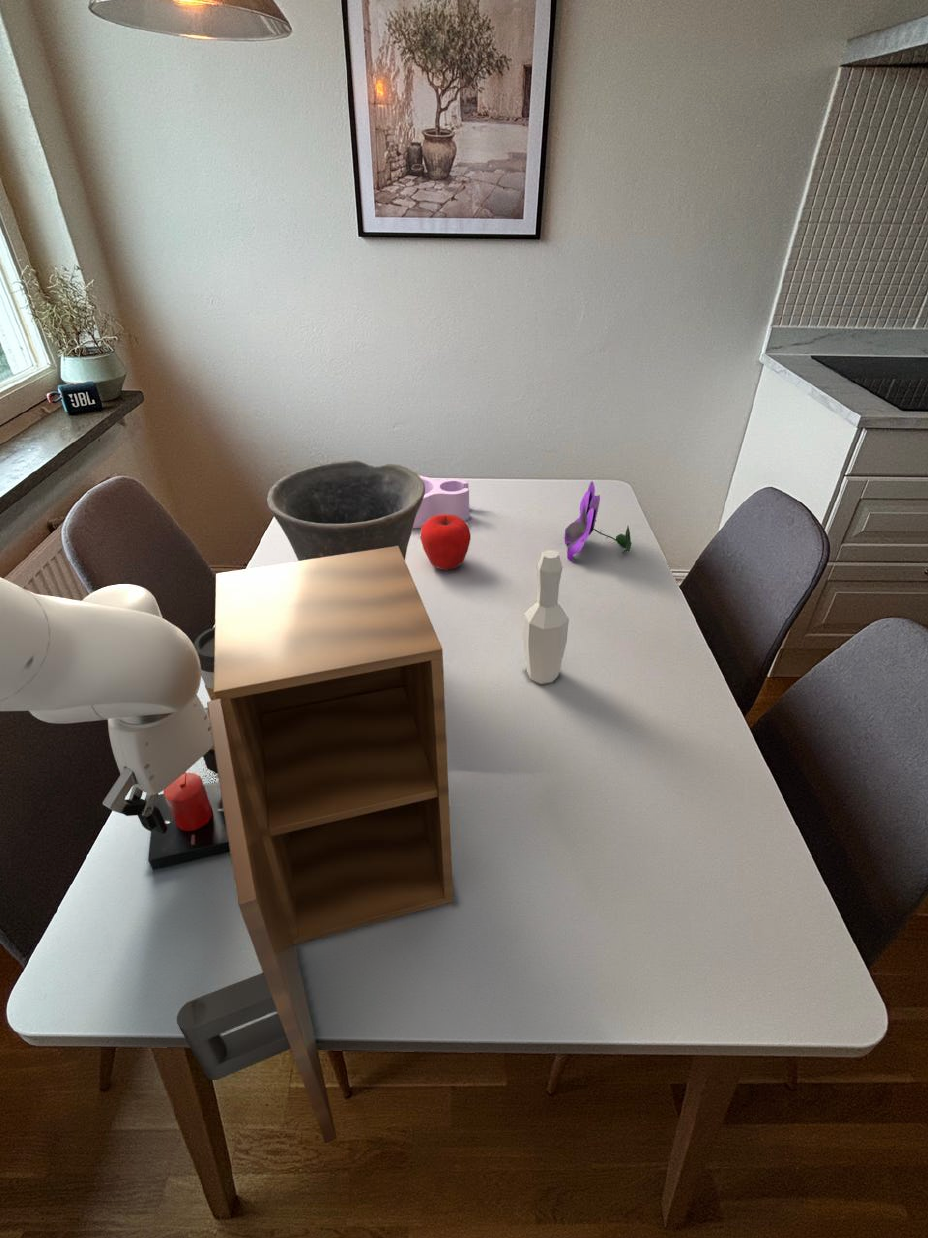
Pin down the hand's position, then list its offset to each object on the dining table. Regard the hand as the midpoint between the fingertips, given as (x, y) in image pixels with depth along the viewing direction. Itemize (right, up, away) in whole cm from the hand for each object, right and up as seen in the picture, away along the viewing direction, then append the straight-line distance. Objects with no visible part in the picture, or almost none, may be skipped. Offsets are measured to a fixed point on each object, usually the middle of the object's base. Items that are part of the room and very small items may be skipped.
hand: (188, 798), depth 83 cm
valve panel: (0, -4, +3) cm, 5 cm away
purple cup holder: (+25, +45, +72) cm, 88 cm away
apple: (+30, +32, +53) cm, 69 cm away
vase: (+17, +16, +30) cm, 38 cm away
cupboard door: (+16, -19, -19) cm, 31 cm away
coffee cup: (+1, +7, +18) cm, 19 cm away
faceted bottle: (+46, +13, +26) cm, 54 cm away
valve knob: (0, -3, +1) cm, 3 cm away
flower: (+61, +35, +57) cm, 91 cm away
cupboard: (+21, -7, -1) cm, 22 cm away
